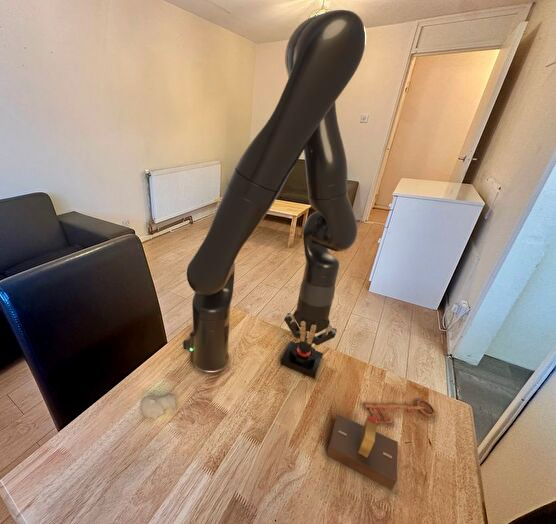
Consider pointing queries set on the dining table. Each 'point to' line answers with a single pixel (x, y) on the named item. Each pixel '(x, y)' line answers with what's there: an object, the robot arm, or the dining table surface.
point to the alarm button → (302, 353)
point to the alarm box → (301, 360)
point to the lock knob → (367, 436)
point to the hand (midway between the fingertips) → (304, 351)
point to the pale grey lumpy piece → (156, 405)
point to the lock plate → (346, 452)
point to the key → (383, 406)
